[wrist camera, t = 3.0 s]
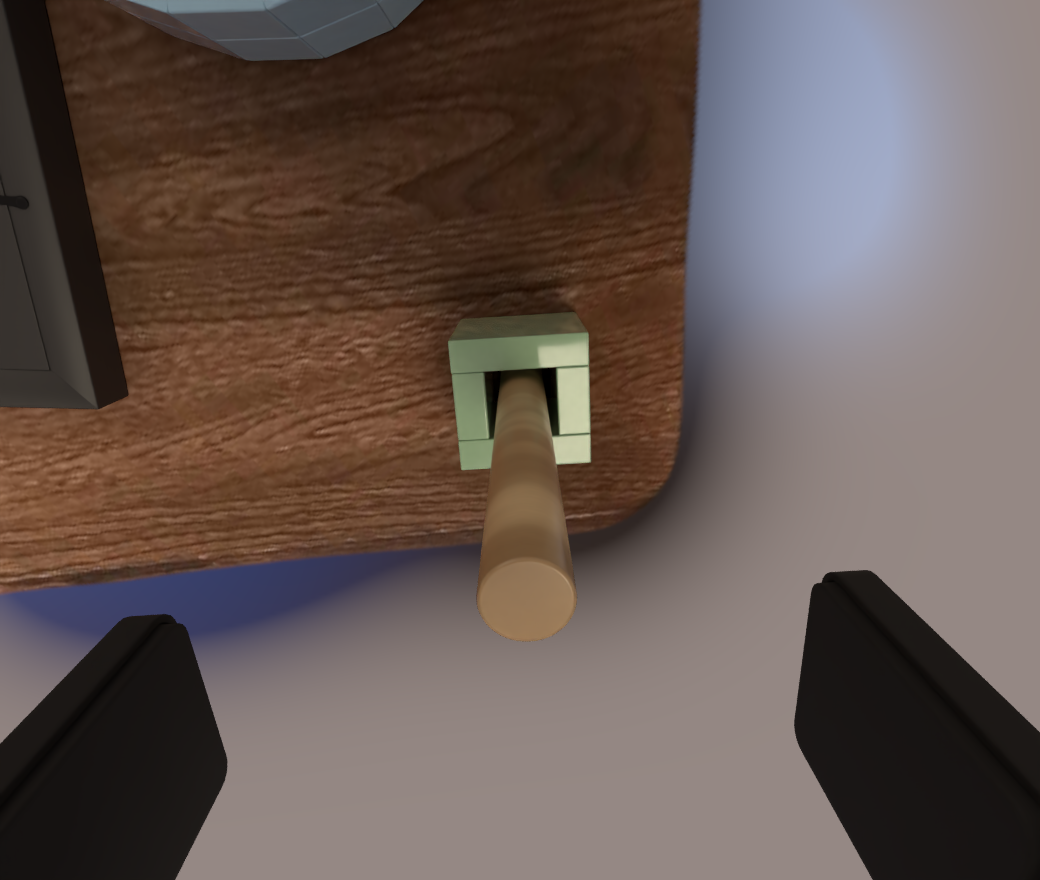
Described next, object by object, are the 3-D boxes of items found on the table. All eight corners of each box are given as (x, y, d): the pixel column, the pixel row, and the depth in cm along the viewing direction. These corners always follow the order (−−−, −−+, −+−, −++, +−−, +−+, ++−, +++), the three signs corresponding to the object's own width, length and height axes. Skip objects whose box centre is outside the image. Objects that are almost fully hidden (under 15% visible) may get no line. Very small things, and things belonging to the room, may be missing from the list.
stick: (516, 343, 26) (513, 540, 10) (549, 366, 26) (597, 590, 10) (493, 376, 27) (456, 613, 11) (526, 398, 27) (539, 658, 11)
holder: (460, 318, 26) (447, 341, 21) (575, 311, 26) (588, 332, 21) (470, 427, 27) (461, 470, 23) (578, 421, 27) (591, 463, 23)
